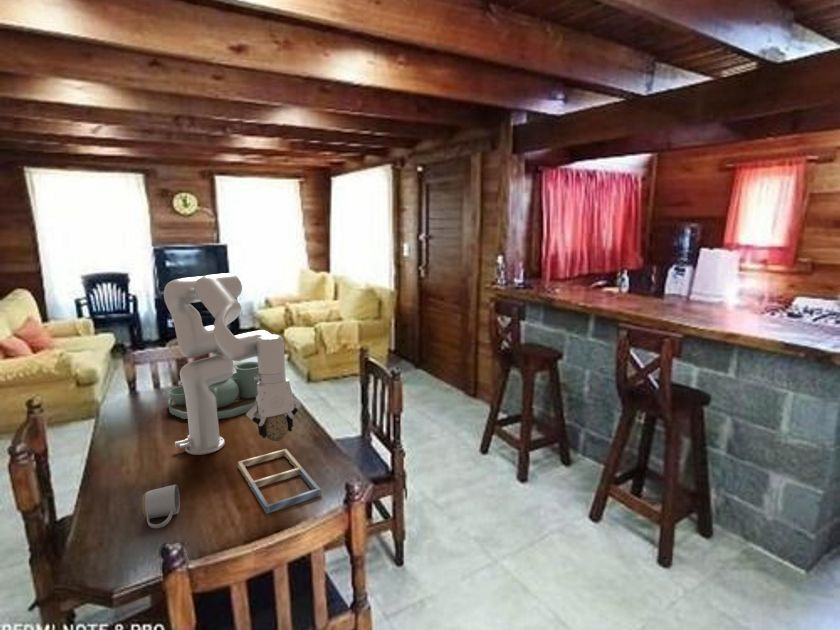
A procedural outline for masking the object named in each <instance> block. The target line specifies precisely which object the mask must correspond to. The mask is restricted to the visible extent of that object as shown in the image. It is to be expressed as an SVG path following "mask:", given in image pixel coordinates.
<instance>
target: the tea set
mask: <svg viewBox="0 0 840 630" xmlns="http://www.w3.org/2000/svg"><path fill="white" fill-rule="evenodd" d="M233 367H234V369H235V370H236V372H233V375H232V377H231V378H230V379H228V380H226V381H222V382H219V383H216V384H213V385H210V386H209V387H208V389H209V390H210V391H211V392H212V393H213V394H214V395H215V397H216V403H217V415H218V420H221V419H226V418H227V419H228V418H233V417H235V416H239V415H241V414H247V412H248V411H249V410H250V409H251V408H252V407H253V406H254V405H255V404H256V388H257V383H258V382H259V381H257V380H256V381H254V376H256V375H258V361H244V362H240V363H238V364H233ZM178 385H179V386H175V387H174V388H171V389H170V390H168V394H169V396H170V398H169V399H167V400H168V410H169V414H170V415H172V416H174V415H175V417H178V418H179V417H180V419H182V420H185V419H188V416H187V407H186V399H185V393H184V388H183V385H182V382H181V380H180V381H178Z"/></svg>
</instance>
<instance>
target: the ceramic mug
mask: <svg viewBox="0 0 840 630" xmlns="http://www.w3.org/2000/svg"><path fill="white" fill-rule="evenodd" d="M180 501H181V500H180V491H179V486H178V485H177V484H172V485H168V486H164V487H158V488H154V489H151V490H149V491H146V492H144V493H143V495H142V502H141V504H142V506H141V508H142V514H143V516H144V518H146V522H147V526H149V527H150V529H151V528H152V529H161V528H164V527H165V526H166V525H168V524H169V523H170V522H171V520H172V517H173V516H175V515H178V514H179V512H180V507H181V503H180ZM160 517H167V518H166V519H165V520H164V521H162V522H161V523H158V524H155V523H153V522H152V523H151V521H150V519H155V518H160Z"/></svg>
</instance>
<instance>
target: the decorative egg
mask: <svg viewBox="0 0 840 630" xmlns="http://www.w3.org/2000/svg"><path fill="white" fill-rule="evenodd" d="M264 425H265V431H266V437H265V438H267V440H270V441H273V442H278V441H281V440H282V439H284V438H285V437H286V435H287V434H288V432H289V431H288V421H287V419H286V416H285V414H282V415H277V416H273V417H269V418H266V419H265V421H264Z"/></svg>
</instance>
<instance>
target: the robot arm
mask: <svg viewBox="0 0 840 630" xmlns="http://www.w3.org/2000/svg"><path fill="white" fill-rule="evenodd" d="M242 290H243V285H242V282H241V280H240V279H239V277H238V276H236V275H235V274H233V273H231V272H230V273H229V272H227V273H215V274H207V275H206V274H205V275H201V276H191V277H190V276H189V277H182V278H176V279H172V280H171V281H169V282H168V283H166V285H165V287H164V290H163V299H164V303H165V305H166V308H167V309H168V311H169V313H170V316H171V319H172V320H173V324H174V325H173V326H174V329H175V335H176V339H177V344H178V349H179V351H180V353H181V355H182V356H183V357H185V358H195V357H200V356H203V355H207V354H208V355H209V354H211V356H208V357H205V358H200V359H198V360H197V359H196V360H193V361H189V362H188V363H185V364H184V366H182V367H181V368H180V371H179V376H180V377H179V378H180V381H181V382H182V385H183V388H184V393H185V399H186V407H187V416H188V420H187V425H188V435H187V438H184V439H182V440H177V441H174V447H175V448H178V447H179V448H180V449H184V448H185V452H187V454H190V455H194V456H197V455H198V456H201V455H207V454H211V453H214V452H216V451H219V450H221V449H222V448H223V447H224V446H225V443H226V442H225V439H224V438H223V437H222V436H220V426H219V419H218V415H217V403H216V397H215V395H214V394H213V393H212V392H211V391H210V390H209V389H208V387H209V386H210V385H213V384H216V383H219V382H222V381H226V380H228V379H230V378H231V377H232V375H233V374H234V373H235V372H234V371H235V370H234V369H235V367H234V366H233V365H234V362H233V361H235V362H240V361H244V360H248V359H251V358H256V357H257V358H256V359H257V362H258V375H256V376H254V381H256V380H257V381H259V382H258V383H257V388H256V404H255V405H254V406H253V407H252V408H251V409H250V410H249V411H248V412H246V413H245V415H246V417H247V418H248V419H250V420H251V421H252V422H253V423H255V424H257V427H258V434H259V436H261V438H262V439H266V438H267V437H266V431H265V425H264V421H265V419H266V418H269V417H273V416H277V415H282V414H284V415H285V414H286V416H285V417H286V419H287V421H288V431H287V432H292V430H293V429H292V428H293V427H294V422H293V421H294V420H293V419H294V417H295V415H296V414H297V412H298V410H299V408H300V407H301V405H302V402H301V401H300V400H298V399H296V398H294V397H293V392H292V388H291V387H292V386H291V383H290V379H289V378H287V375H286V373H287V372H286V359H285V358H286V357H285V344H284V338H283V336H282V335H279V334H276V333H273V334H272V333H271V332H269V331H267V330H265V329H257V330H254V331H248V332H244V333H239V334H236V335H234V334H233V333H232V332H231V330H230V329H229V327H228V325H230V324H231V323H232V322H234V321H235V320H236V319H238V317H239V316H240V314H241V311H242V305H241V303H240V302H239V301H238V300H237V299H236V298H238V297H239V296H241V294H242V293H243V291H242ZM192 303H194V304H195V303H202V304H203V305H204V307H205V309H207V311H208V312H209V313H210V314H211V316H212V317H213V318H214V319H215V320H214V322H213V324H210V325H205V326H204V324H203V322H202V321H203V319H202V316H201V314H200V312H199V310H197V308H195V307H194V306H193V305H192ZM255 414H258V416H255Z"/></svg>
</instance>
